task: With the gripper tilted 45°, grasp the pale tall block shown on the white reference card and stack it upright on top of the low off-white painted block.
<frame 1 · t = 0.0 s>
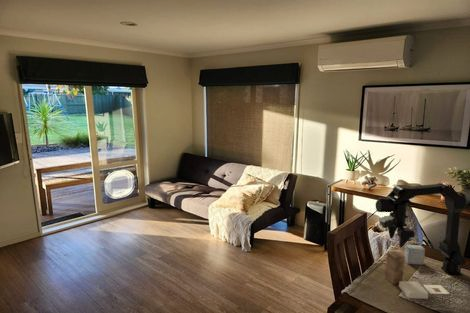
hand: (395, 242, 144), 15 cm above the table, tool pointing down, fingers open, 9 cm apart
medicine box: (413, 262, 154), on the table
reference card: (435, 289, 131), on the table
base block: (412, 293, 130), on the table
pale tall block: (393, 279, 139), on the table
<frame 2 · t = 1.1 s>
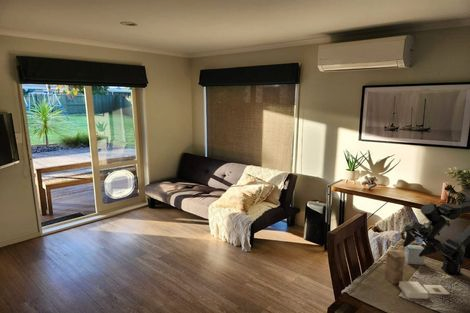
hand: (411, 251, 138), 13 cm above the table, tool tilted 45°, fingers open, 9 cm apart
nothing on the table moved.
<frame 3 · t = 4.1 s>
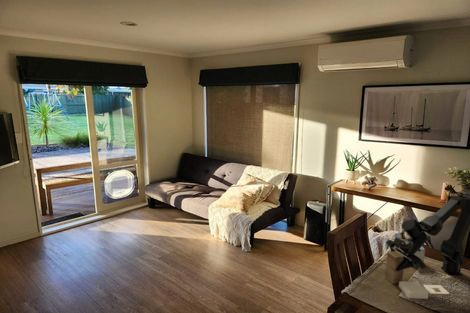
hand: (392, 267, 137), 7 cm above the table, tool tilted 45°, fingers closed on pale tall block, 5 cm apart
pale tall block: (393, 279, 139), on the table, touching gripper
everything else where it was.
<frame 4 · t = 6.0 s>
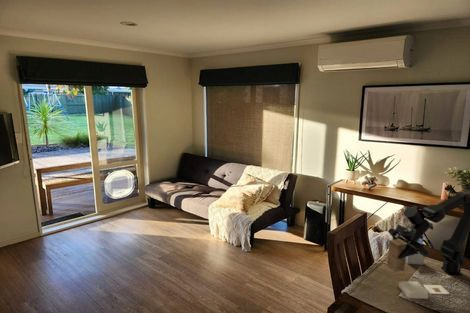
hand: (394, 255, 136), 13 cm above the table, tool tilted 45°, fingers closed on pale tall block, 5 cm apart
pale tall block: (395, 268, 137), point 6 cm above the table, touching gripper
everything else where it was.
when the fingers open (11 cm above the table, at t = 7.6 s): pale tall block drops 2 cm, point 3 cm above the table.
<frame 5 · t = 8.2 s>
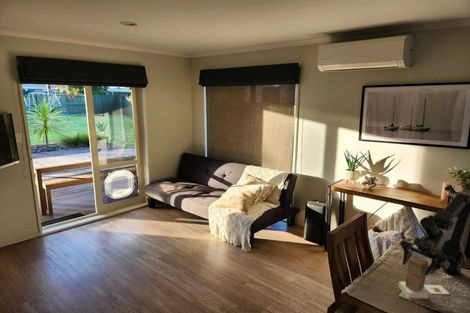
hand: (413, 269, 127), 11 cm above the table, tool tilted 45°, fingers open, 9 cm apart
pale tall block: (414, 287, 129), point 3 cm above the table
everything else where it was.
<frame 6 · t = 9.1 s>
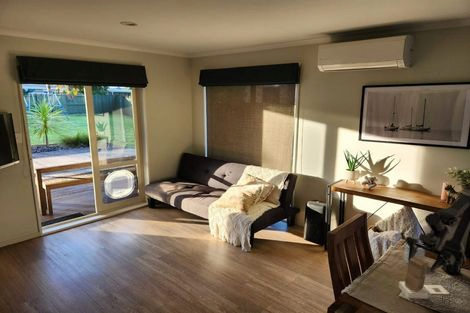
hand: (419, 265, 129), 12 cm above the table, tool tilted 45°, fingers open, 9 cm apart
base block: (412, 293, 130), on the table, touching pale tall block
pale tall block: (413, 286, 129), point 3 cm above the table, touching base block
everything else where it was.
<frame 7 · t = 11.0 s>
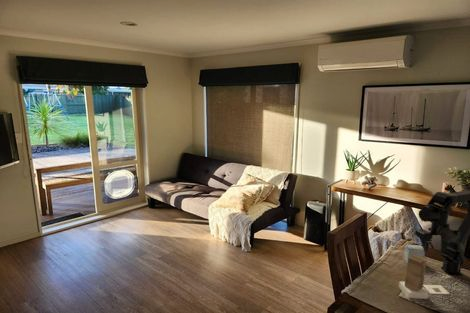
hand: (434, 251, 139), 13 cm above the table, tool pointing down, fingers open, 9 cm apart
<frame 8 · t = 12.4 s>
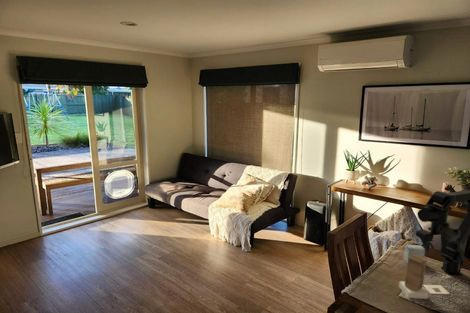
hand: (435, 250, 140), 13 cm above the table, tool pointing down, fingers open, 9 cm apart
base block: (412, 293, 130), on the table
pale tall block: (413, 286, 129), point 3 cm above the table
everything else where it was.
at the end: pale tall block 0.1 cm off-centre on the base block, point 3.1 cm above the base block's base; pale tall block tilted 1°; the gripper is holding nothing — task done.
